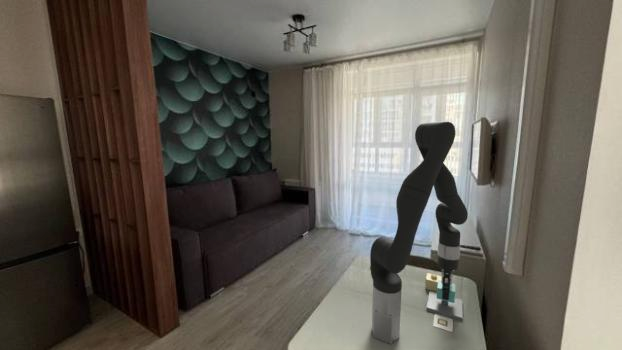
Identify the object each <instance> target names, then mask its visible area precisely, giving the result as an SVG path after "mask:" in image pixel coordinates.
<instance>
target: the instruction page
mask: <svg viewBox="0 0 622 350" xmlns="http://www.w3.org/2000/svg"><path fill="white" fill-rule="evenodd" d="M453 320H454V318H451V317H447V316H444V315H441V314H438V313H435V314H434V317H433V324H432V327H434V328H438V329H442V330H443V331H447V332H450V333H453V329H454V328H453V326H454V325H453V322H454V321H453Z"/></svg>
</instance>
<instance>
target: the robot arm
mask: <svg viewBox="0 0 622 350" xmlns="http://www.w3.org/2000/svg"><path fill="white" fill-rule="evenodd" d="M455 138H456V127H455V125H454V124H453V123H452V122H451V121H446V120H444V121H428V122H422V123H420V124H418V126H417V127H416V130H415V133H414V140H415V143H416V146H417V149H418V150H419V152H420V153H419V154H421V157H422V161H421V163H419V165H418V166H416V167H415V168H414V169H413V170H412V171H411V172H410V173H409V174H408V175H407V176H406V177H405V178H404V180H403V181H402V184H401V186H400V189H399V191H398V194H397V196H396V202H395V203H396V204H395V205H396V213H397V214H396V215H397V229H396V233H395V235H394V238H393V239H392V238H390V237H387V236H380V237H378V238H376V239H375V240H374V241H373V243H372V245H371V247H370V254H369V255H370V256H369V257H370V258H369V260H370V266H371V269H370V276H371V278H372V303H371V304H372V306H371V307H372V308H371V310H372V311H371V315H372V316H371V332H372V337H373V338H375V339H377V340H380V341H382V342H384V343H387V344H390V345H392V344H393V342H395V341H397V340H399V338H400V336H401V335H400V334H401V331H400V330H401V313H402V312H401V308H402V287H403V286H402V284H403V280H402V278H401V276H400V275H399V274H398V273H401V272H402V271H403V270H404V269H405V268H406V266H407V264H408V262H409V260H410V257H411V252H412V249H413V245H414V242H415V238H416V234H417V230H418V228H419V224H420V222H421V219H422V217H423V214H424V212H425V209H426V207H427V204H428V202H429V200H430V197H431V194H432V191H433V188H434V192H435V196H436V199H437V201H439V202H440V203H438V205H437V206H436V209H435V218H436V224H437V227H438V231H439V233H438V245H437V254H436V255H437V257H436V264H437V266H438V267H439V268H441V272H440V273H441V274H440V276H442V280H441V283H442V291H443V292H442V299H444V300H449V292H450V285H452V284H453V282H452V281H453V277H454V271H456V270H458V269H459V268H460V260H461V259H460V255H461V248H460V247H461V231H460V229H457V228H456V227H454V226H453V225H457V226H460V225H464V223H466V222H467V220H468V217H469V216H468V215H469V214H468V210H467V209H468V208H467V207H466V205H465V203H464V202H463V200H462V198H461V196H460V195H459V192H458V189H457V183H456V180H455V177H454V175H453V174H452V172H451V170H450V169H449V167H448V166H447V165H446V164H445V160H446V158H447V157H448V154H449V153H450V150H451V149H452V147H453V144H454V142H455V140H456V139H455ZM452 224H453V225H452ZM446 287H448V288H446Z"/></svg>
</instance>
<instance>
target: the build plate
mask: <svg viewBox="0 0 622 350" xmlns="http://www.w3.org/2000/svg"><path fill="white" fill-rule="evenodd" d="M426 303H427V304H426V311H428V312H431V313H435V314H437V315H440V316H443V317H447V318H450V319H453V320H458V321H462V322H463V319H464V317H463V299H461V298H457V297H455V300H454V303H452V302H448V301H444V300H441V299H437V292H436V291H432V290H429V293H428V298H427V302H426Z"/></svg>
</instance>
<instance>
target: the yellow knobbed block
mask: <svg viewBox="0 0 622 350" xmlns="http://www.w3.org/2000/svg"><path fill="white" fill-rule="evenodd" d="M438 280H440V281H441V280H442V275H438V274H435V273H434V274H433V273H428V272H427V273H426V277H425V289H426V290H429V291H432V292H435V293H437V286H438Z"/></svg>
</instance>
